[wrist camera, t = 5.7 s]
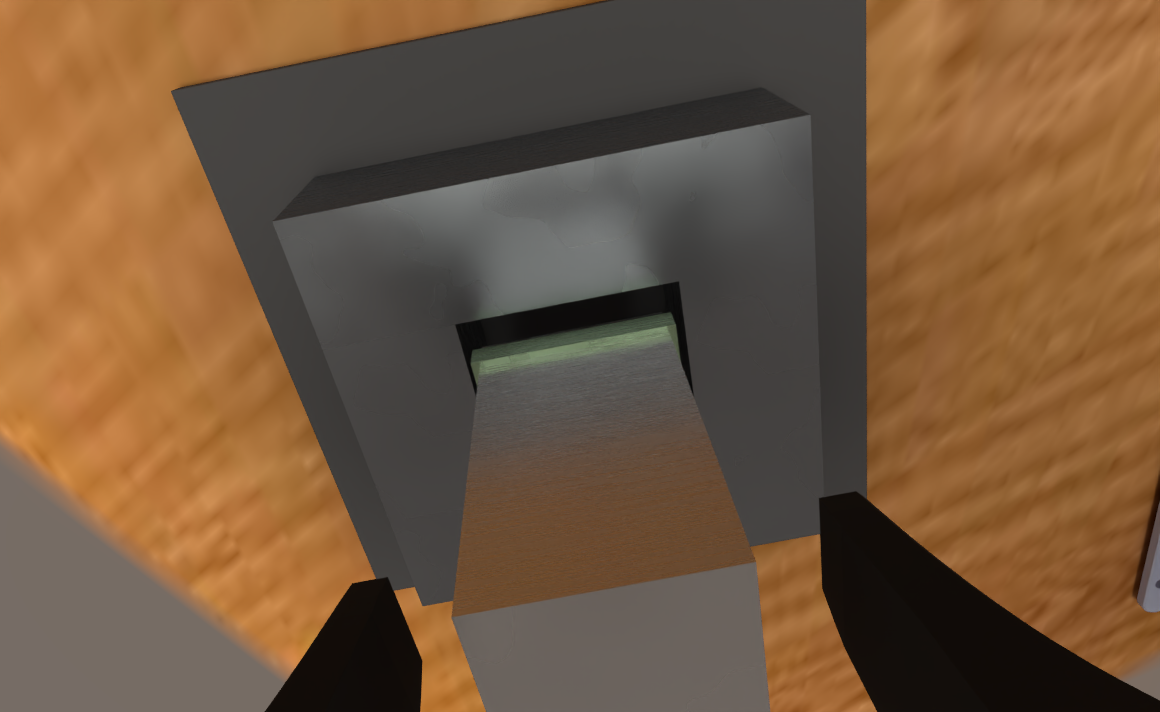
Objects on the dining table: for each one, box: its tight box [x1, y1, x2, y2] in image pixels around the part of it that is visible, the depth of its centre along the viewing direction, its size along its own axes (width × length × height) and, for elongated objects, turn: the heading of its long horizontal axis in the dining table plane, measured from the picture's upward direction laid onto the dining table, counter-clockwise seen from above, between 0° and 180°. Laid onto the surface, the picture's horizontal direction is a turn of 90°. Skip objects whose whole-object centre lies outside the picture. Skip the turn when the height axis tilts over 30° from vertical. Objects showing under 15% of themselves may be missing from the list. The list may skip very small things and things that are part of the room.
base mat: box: [171, 0, 867, 591], centre depth 21 cm, size 16×16×1 cm
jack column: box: [452, 312, 770, 712], centre depth 14 cm, size 4×4×8 cm
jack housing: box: [272, 87, 824, 606], centre depth 19 cm, size 11×11×4 cm
